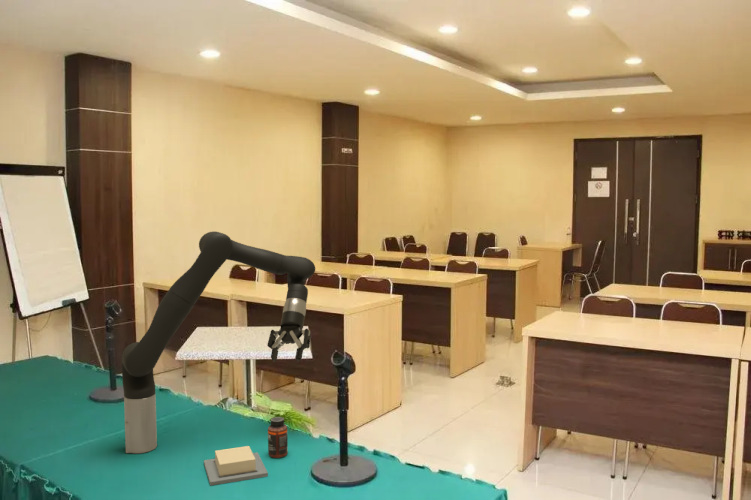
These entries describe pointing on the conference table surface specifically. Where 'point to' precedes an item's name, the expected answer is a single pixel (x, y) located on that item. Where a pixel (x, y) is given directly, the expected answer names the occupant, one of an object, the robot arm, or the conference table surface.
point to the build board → (234, 478)
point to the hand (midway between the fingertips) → (285, 360)
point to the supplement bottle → (277, 438)
